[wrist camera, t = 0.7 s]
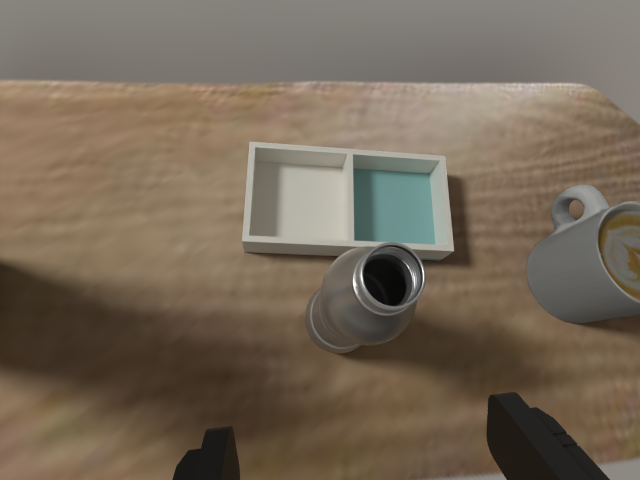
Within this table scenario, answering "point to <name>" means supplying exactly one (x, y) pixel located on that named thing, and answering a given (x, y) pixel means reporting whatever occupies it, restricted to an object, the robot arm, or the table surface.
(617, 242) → the coffee mug
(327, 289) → the grey metal bottle
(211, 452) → the robot arm
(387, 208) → the divided tray
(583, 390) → the table surface
